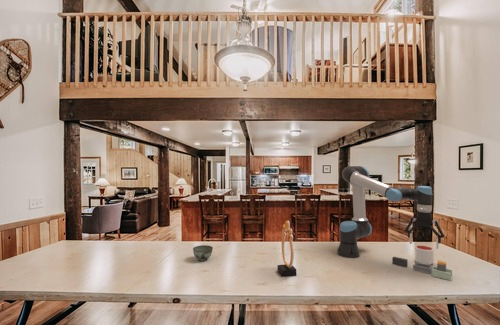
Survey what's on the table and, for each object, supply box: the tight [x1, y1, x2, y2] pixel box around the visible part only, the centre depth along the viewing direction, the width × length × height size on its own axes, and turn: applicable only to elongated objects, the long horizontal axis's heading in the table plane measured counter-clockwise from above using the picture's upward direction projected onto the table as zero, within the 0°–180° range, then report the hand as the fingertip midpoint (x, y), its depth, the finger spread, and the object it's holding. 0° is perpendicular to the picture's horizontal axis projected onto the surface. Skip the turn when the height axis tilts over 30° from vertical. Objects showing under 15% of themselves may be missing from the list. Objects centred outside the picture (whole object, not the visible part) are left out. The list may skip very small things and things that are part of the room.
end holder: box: [431, 265, 453, 282], centre depth 152 cm, size 9×8×4 cm
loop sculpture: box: [277, 220, 297, 278], centre depth 156 cm, size 17×9×32 cm, turn 12°
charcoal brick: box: [391, 256, 408, 268], centre depth 169 cm, size 8×3×4 cm, turn 45°
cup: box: [414, 245, 434, 266], centre depth 174 cm, size 10×10×10 cm
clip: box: [412, 261, 434, 275], centre depth 161 cm, size 9×7×3 cm
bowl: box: [192, 244, 214, 262], centre depth 179 cm, size 14×14×8 cm
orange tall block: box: [436, 260, 447, 272], centre depth 152 cm, size 4×4×8 cm
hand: (423, 245), depth 159 cm, fingers open, 13 cm apart
